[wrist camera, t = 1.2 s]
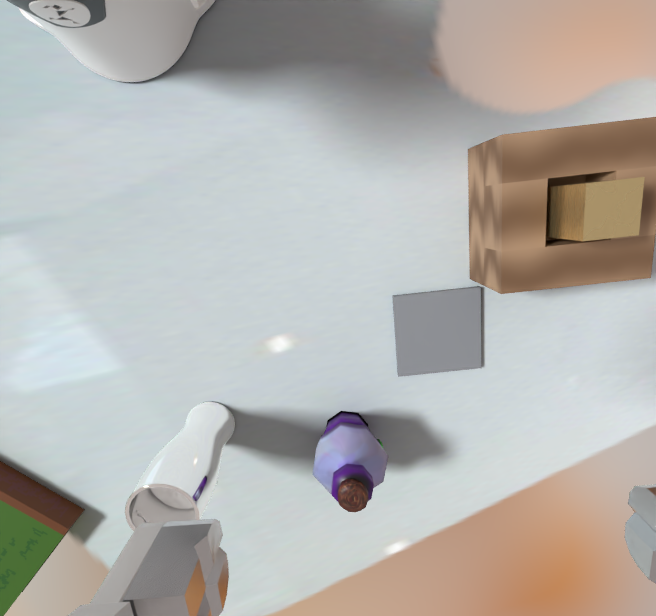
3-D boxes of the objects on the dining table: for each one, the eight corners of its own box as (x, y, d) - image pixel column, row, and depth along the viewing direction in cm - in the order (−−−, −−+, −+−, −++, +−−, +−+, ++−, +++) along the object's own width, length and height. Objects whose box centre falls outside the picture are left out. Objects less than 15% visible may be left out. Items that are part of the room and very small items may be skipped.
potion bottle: (387, 450, 49) (406, 525, 38) (323, 465, 50) (322, 544, 38) (371, 392, 47) (386, 452, 35) (305, 408, 48) (298, 473, 36)
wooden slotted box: (468, 149, 40) (502, 134, 32) (601, 133, 40) (668, 115, 32) (469, 278, 44) (501, 293, 36) (592, 265, 43) (650, 277, 35)
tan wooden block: (531, 188, 37) (586, 183, 29) (577, 183, 37) (644, 176, 29) (530, 234, 38) (582, 241, 31) (575, 230, 38) (638, 235, 31)
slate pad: (392, 295, 44) (393, 296, 43) (478, 286, 44) (480, 287, 43) (397, 374, 46) (398, 376, 46) (479, 366, 46) (481, 367, 46)
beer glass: (222, 389, 47) (177, 470, 32) (248, 435, 48) (215, 531, 34) (173, 410, 47) (107, 498, 33) (200, 454, 49) (147, 556, 35)
